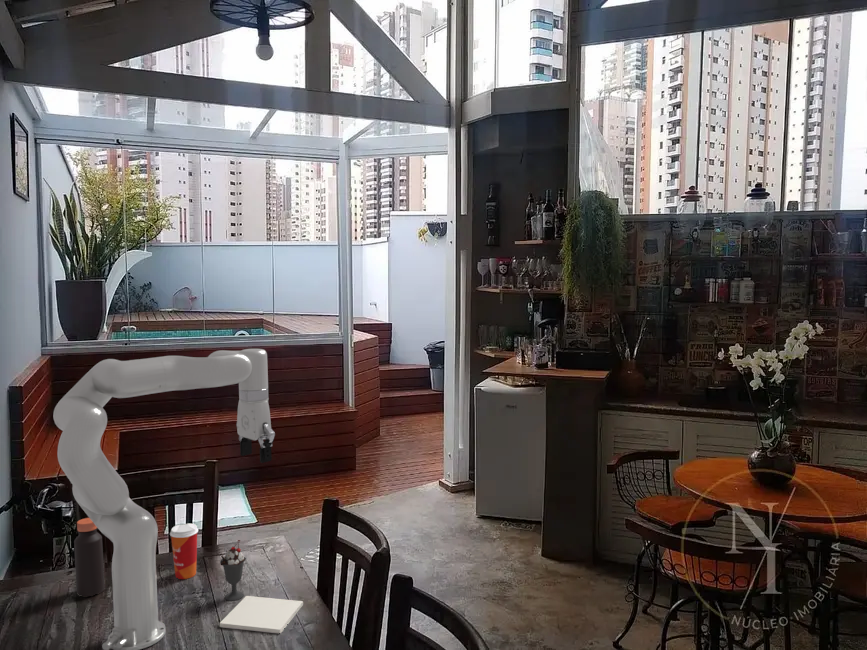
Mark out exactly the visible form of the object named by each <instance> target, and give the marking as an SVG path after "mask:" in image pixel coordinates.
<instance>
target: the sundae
mask: <svg viewBox="0 0 867 650" xmlns="http://www.w3.org/2000/svg"><path fill="white" fill-rule="evenodd" d="M240 542H241V540H240V539H237V543H236V544H235V545H234V546H232V547H231V548H230V549H229V550H228V551H226V553H225V556H223V555H221V556H220V558H221V559H220V560H219V562H220V566H222V567H223V573H224V576H225V581H226V582H227V583H228V584H230V585H231V591H230V592H228V593H227V594H226V595H225V596H224V599H225V600H226V601H229V602H235V601H238V600H242V599H243V598H244V596H245V594H244V592H242V591H238V589H237V584H238V583H239V582H240V581H241V580H242V577H243V570H244V562H245V561H246V560H247V557H245V556H244V554H243V553H242V552H241V548H240V546H239V543H240ZM236 546H237V547H236Z"/></svg>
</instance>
